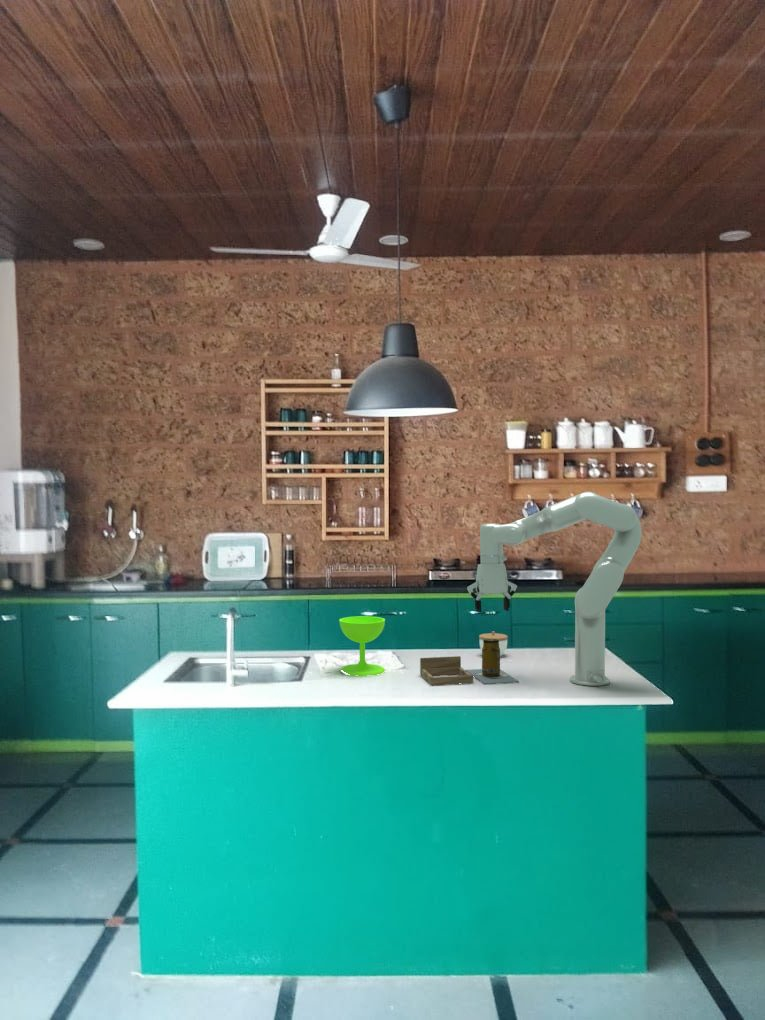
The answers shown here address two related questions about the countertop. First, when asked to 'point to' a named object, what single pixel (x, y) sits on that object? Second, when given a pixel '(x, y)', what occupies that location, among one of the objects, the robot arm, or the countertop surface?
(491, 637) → the lidded jar
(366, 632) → the wineglass
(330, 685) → the countertop surface
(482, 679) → the mat
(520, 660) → the countertop surface
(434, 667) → the holder
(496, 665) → the condiment
